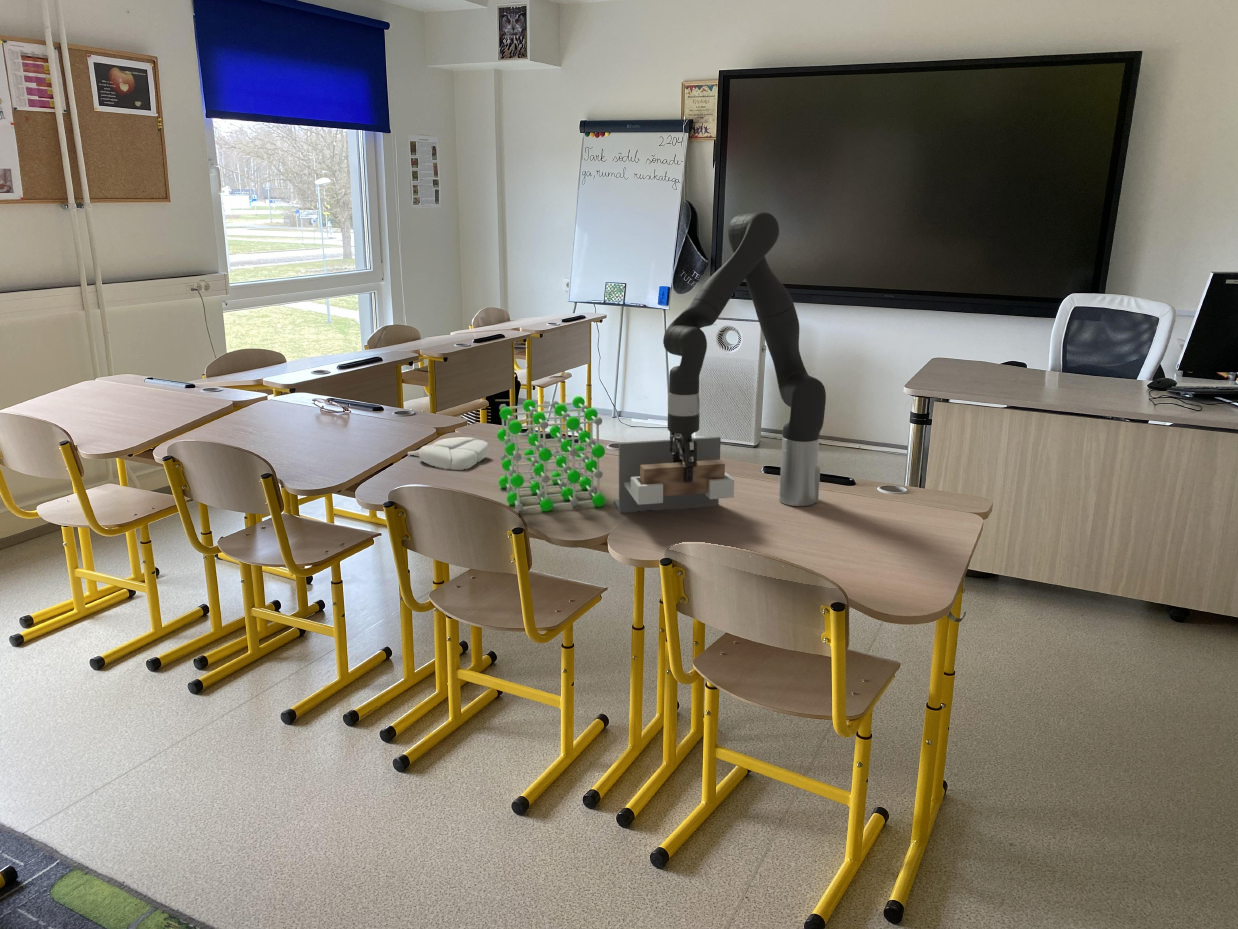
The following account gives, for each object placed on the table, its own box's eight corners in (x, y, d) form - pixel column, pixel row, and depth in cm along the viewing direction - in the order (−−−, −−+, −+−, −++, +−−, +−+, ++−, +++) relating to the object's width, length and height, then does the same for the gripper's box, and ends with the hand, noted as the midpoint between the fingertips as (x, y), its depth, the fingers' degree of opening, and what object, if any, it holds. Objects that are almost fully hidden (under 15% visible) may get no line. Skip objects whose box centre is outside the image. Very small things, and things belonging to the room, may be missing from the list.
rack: (709, 496, 242) (711, 430, 237) (737, 524, 222) (740, 453, 217) (613, 503, 237) (613, 436, 231) (633, 533, 217) (633, 460, 211)
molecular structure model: (512, 516, 228) (509, 422, 221) (498, 486, 251) (494, 400, 244) (606, 508, 234) (606, 415, 227) (584, 479, 257) (583, 394, 250)
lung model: (465, 472, 263) (393, 470, 272) (494, 457, 278) (425, 456, 288) (463, 449, 261) (389, 449, 271) (492, 436, 277) (422, 436, 286)
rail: (719, 486, 224) (720, 459, 222) (724, 491, 221) (725, 463, 219) (640, 492, 220) (640, 464, 218) (643, 497, 217) (643, 469, 215)
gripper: (708, 417, 209) (706, 484, 214) (690, 403, 222) (688, 467, 227) (676, 419, 207) (675, 487, 212) (660, 405, 221) (659, 469, 225)
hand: (682, 476), depth 219 cm, fingers open, 8 cm apart
